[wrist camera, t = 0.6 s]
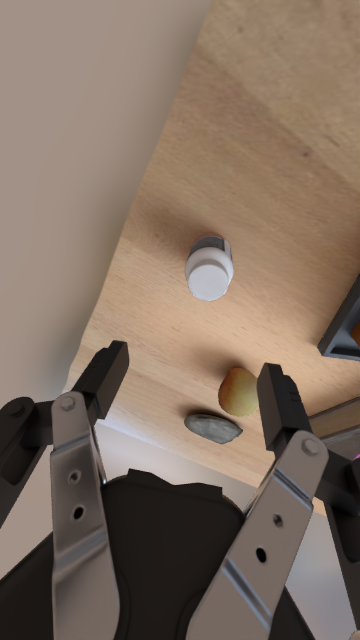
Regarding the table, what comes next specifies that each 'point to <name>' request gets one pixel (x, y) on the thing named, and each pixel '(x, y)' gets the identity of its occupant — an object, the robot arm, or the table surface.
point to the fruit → (238, 393)
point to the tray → (343, 329)
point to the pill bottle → (209, 267)
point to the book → (339, 429)
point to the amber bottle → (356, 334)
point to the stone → (212, 428)
